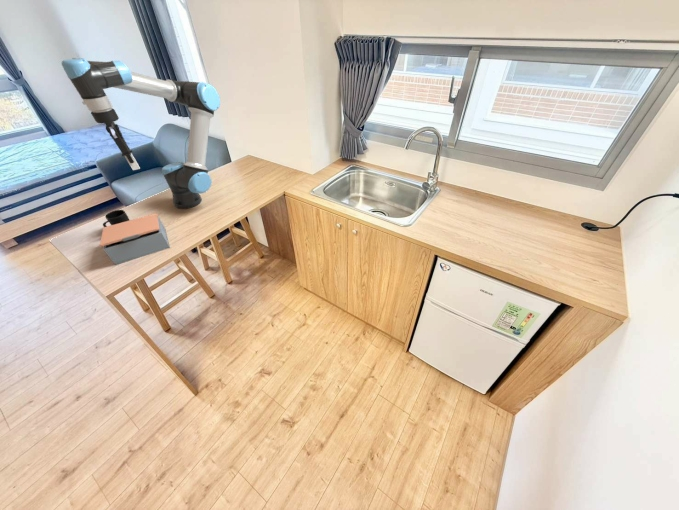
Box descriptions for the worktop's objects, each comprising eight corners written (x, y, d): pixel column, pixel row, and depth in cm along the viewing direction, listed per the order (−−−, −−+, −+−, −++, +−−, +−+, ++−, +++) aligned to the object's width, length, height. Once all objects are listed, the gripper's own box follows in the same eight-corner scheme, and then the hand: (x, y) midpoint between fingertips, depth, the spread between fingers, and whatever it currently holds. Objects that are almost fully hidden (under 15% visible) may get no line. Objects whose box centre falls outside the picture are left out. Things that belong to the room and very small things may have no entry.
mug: (106, 237, 132) (94, 221, 126) (124, 224, 141) (114, 208, 135) (120, 239, 131) (108, 223, 125) (138, 225, 140) (128, 210, 133)
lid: (104, 229, 122) (103, 227, 122) (157, 214, 131) (156, 213, 131) (100, 248, 109) (99, 246, 109) (159, 230, 118) (158, 228, 117)
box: (115, 243, 128) (104, 228, 122) (165, 229, 137) (157, 214, 131) (115, 265, 117) (103, 249, 111) (169, 247, 126) (161, 232, 120)
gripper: (90, 107, 102) (126, 165, 118) (89, 115, 94) (127, 176, 110) (113, 104, 105) (144, 161, 121) (113, 111, 97) (147, 172, 113)
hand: (136, 168), depth 116 cm, fingers closed
